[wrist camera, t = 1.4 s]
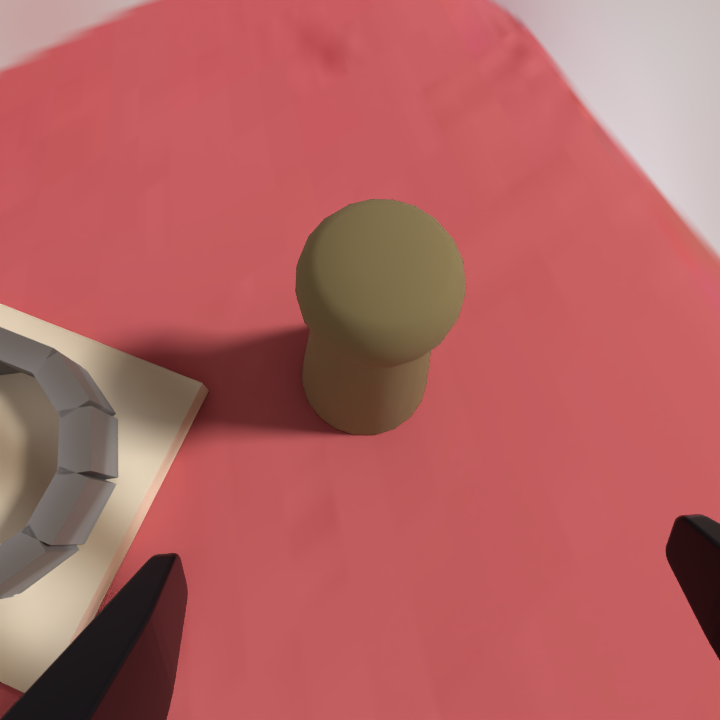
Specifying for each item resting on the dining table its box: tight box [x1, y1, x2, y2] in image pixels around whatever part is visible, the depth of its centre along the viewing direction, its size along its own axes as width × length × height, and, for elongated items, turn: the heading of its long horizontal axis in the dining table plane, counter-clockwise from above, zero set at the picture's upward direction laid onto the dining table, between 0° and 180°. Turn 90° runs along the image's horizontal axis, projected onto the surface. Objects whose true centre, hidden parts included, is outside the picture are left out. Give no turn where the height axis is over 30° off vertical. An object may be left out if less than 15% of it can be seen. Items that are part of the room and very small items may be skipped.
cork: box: [295, 199, 465, 435], centre depth 19 cm, size 6×6×11 cm
